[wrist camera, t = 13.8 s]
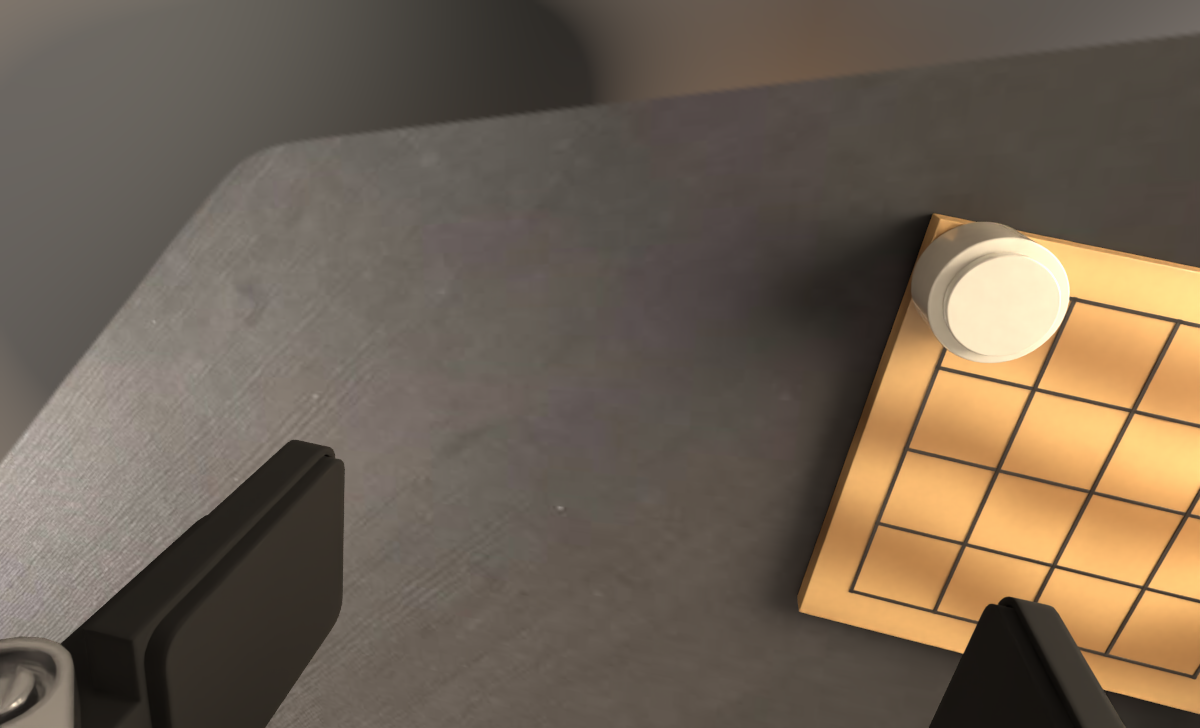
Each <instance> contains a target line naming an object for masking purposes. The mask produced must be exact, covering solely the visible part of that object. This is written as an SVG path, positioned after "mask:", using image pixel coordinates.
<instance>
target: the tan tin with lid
mask: <svg viewBox="0 0 1200 728" xmlns="http://www.w3.org/2000/svg"><path fill="white" fill-rule="evenodd" d="M911 293H912V299H913V302H914V305H915V307H916V309H917V311H918V313H919V314H920V316H921V317H922V319H923V320H924V322H925V323H926V324H927V326H928V327H929V328H930V330H931V331H932V333H933V334H934V335H935V337H936V338H937V339H938V341H939V342H940V343H941V344H942V345H943V346H944V347H945V348H946V349H947V350H949V351H950V352H952V353H953V354H955V355H957V356H959V357H961V358H963V359H966V360H970V361H973V362H979V363H1000V362H1006V361H1010V360H1014V359H1017V358H1020V357H1022V356H1024V355H1027V354H1028V353H1030V352H1032V351H1034V350H1035V349H1037V348H1038V347H1040V346H1041V345H1042V344H1044V343H1045V342H1046V341H1047V340H1048V339H1049V338H1050V337H1051V336H1052V335H1053V334H1054V333H1055V331H1056V330H1057V328H1058V327H1059V326H1060V324H1061V322H1062V320H1063V318H1064V316H1065V313H1066V311H1067V307H1068V303H1069V295H1070V289H1069V281H1068V277H1067V274H1066V272H1065V269H1064V267H1063V266H1062V264H1061V262H1060V261H1059V260H1058V259H1057V257H1056V256H1055V255H1054V254H1053V253H1052V252H1050V251H1049V250H1048V249H1047V248H1045V247H1043V246H1042V245H1040V244H1038V243H1037V242H1035V241H1033V240H1032V239H1030V238H1028V237H1027V236H1025V235H1023V234H1022V233H1020V232H1018V231H1016V230H1015V229H1013V228H1011V227H1009V226H1006V225H1003V224H999V223H994V222H974V223H968V224H964V225H961V226H958V227H955V228H953V229H951V230H949V231H947V232H945V233H944V234H942V235H941V236H939V237H938V238H937V239H935V240H934V241H933V242H932V243H931V244H930V245H929V246H928V247H927V248H926V249H925V251H924V252H923V253H922V255H921V256H920V258H919V260H918V261H917V264H916V266H915V268H914V272H913V275H912V282H911Z"/></svg>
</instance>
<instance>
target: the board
mask: <svg viewBox="0 0 1200 728" xmlns="http://www.w3.org/2000/svg"><path fill="white" fill-rule="evenodd" d="M968 223H974V221H969V220H964V219H959V218H954V217H950V216H945V215H940V214H935V213H933V214H932V217H931V220H930V223H929V226H928V228H927V231H926V234H925V237H924V240H923V242H922V245H921V248H920V251H919V254H918V257H917V259H916V262H915V265H914V268H915V266H916V264H917V261H918V260H919V258H920V256H921V255H922V253H923V252H924V251H925V249H926V248H927V247H928V246H929V245H930V244H931V243H932V242H933V241H934V240H935V239H937V238H938V237H939V236H941V235H942V234H944V233H945V232H947V231H949V230H951V229H953V228H955V227H958V226H961V225H964V224H968ZM1016 231H1017V230H1016ZM1018 232H1020V233H1022V234H1023V235H1025V236H1027V237H1028V238H1030V239H1032V240H1033V241H1035V242H1037V243H1038V244H1040V245H1042V246H1043V247H1045V248H1047V249H1048V250H1049V251H1050V252H1052V253H1053V254H1054V255H1055V256H1056V257H1057V259H1058V260H1059V261H1060V262H1061V264H1062V266H1063V267H1064V269H1065V272H1066V274H1067V277H1068V281H1069V289H1070V295H1069V303H1068V307H1067V311H1066V313H1065V316H1064V318H1063V320H1062V322H1061V324H1060V326H1059V327H1058V328H1057V330H1056V331H1055V333H1054V334H1053V335H1052V336H1051V337H1050V338H1049V339H1048V340H1047V341H1046V342H1045V343H1044V344H1042V345H1041V346H1040V347H1038V348H1037V349H1035V350H1034V351H1032V352H1030V353H1028V354H1027V355H1024V356H1022V357H1020V358H1017V359H1014V360H1010V361H1006V362H1000V363H979V362H973V361H970V360H966V359H963V358H961V357H959V356H957V355H955V354H953V353H952V352H950V351H949V350H947V349H946V348H945V347H944V346H943V345H942V344H941V343H940V342H939V341H938V339H937V338H936V337H935V335H934V334H933V333H932V331H931V330H930V328H929V327H928V326H927V324H926V323H925V322H924V320H923V319H922V317H921V316H920V314H919V313H918V311H917V309H916V307H915V305H914V302H913V299H912V293H911V282H912V275H913V272H914V268H913V271H912V274H911V276H910V279H909V282H908V285H907V288H906V290H905V293H904V296H903V299H902V302H901V305H900V307H899V310H898V313H897V316H896V319H895V322H894V324H893V327H892V330H891V333H890V336H889V339H888V341H887V344H886V347H885V350H884V353H883V355H882V358H881V361H880V364H879V367H878V370H877V372H876V375H875V378H874V381H873V384H872V387H871V389H870V392H869V395H868V398H867V401H866V403H865V406H864V409H863V412H862V415H861V418H860V420H859V423H858V426H857V429H856V432H855V435H854V437H853V440H852V443H851V446H850V449H849V451H848V454H847V457H846V460H845V463H844V466H843V468H842V471H841V474H840V477H839V480H838V483H837V485H836V488H835V491H834V494H833V497H832V500H831V502H830V505H829V508H828V511H827V514H826V516H825V519H824V522H823V525H822V528H821V531H820V533H819V536H818V539H817V542H816V545H815V548H814V550H813V553H812V556H811V559H810V562H809V564H808V567H807V570H806V573H805V576H804V579H803V581H802V584H801V587H800V590H799V593H798V596H797V599H798V608H799V612H802V613H806V614H810V615H814V616H818V617H822V618H826V619H830V620H833V621H837V622H841V623H845V624H849V625H853V626H857V627H861V628H865V629H869V630H873V631H877V632H880V633H884V634H888V635H892V636H896V637H900V638H904V639H908V640H912V641H916V642H920V643H923V644H927V645H931V646H935V647H939V648H943V649H947V650H951V651H955V652H959V653H964V651H965V649H966V647H967V645H968V643H969V640H970V638H971V636H972V634H973V632H974V630H975V628H976V625H977V623H978V621H979V619H980V617H981V615H982V612H983V611H984V609H985V607H986V606H987V605H989V604H997V605H998V603H999V601H1000V600H1001V599H1003V598H1004V597H1008V596H1010V597H1014V598H1019V599H1023V600H1028V601H1032V602H1037V603H1042V604H1046V605H1050V606H1052V607H1054V608H1055V610H1056V611H1057V612H1058V613H1059V615H1060V617H1061V618H1062V620H1063V622H1064V624H1065V625H1066V627H1067V629H1068V630H1069V632H1070V634H1071V636H1072V637H1073V639H1074V641H1075V642H1076V644H1077V646H1078V648H1079V649H1080V651H1081V653H1082V654H1083V656H1084V658H1085V659H1086V661H1087V663H1088V665H1089V666H1090V668H1091V670H1092V671H1093V673H1094V675H1095V677H1096V678H1097V680H1098V682H1099V683H1100V685H1101V687H1102V688H1103V690H1107V691H1111V692H1115V693H1119V694H1123V695H1127V696H1131V697H1135V698H1139V699H1143V700H1147V701H1150V702H1154V703H1158V704H1162V705H1166V706H1170V707H1174V708H1178V709H1182V710H1186V711H1190V712H1193V713H1197V714H1200V268H1197V267H1192V266H1187V265H1182V264H1177V263H1172V262H1167V261H1163V260H1158V259H1153V258H1148V257H1143V256H1138V255H1134V254H1129V253H1124V252H1119V251H1114V250H1109V249H1105V248H1100V247H1095V246H1090V245H1085V244H1080V243H1075V242H1071V241H1066V240H1061V239H1056V238H1051V237H1046V236H1042V235H1037V234H1032V233H1027V232H1022V231H1018Z"/></svg>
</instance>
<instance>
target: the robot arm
mask: <svg viewBox="0 0 1200 728" xmlns="http://www.w3.org/2000/svg"><path fill="white" fill-rule="evenodd" d="M344 474H345V469H344V463H343V461H342V460H340V459H335V454H334V451H333V449H332V448H330V447H327V446H322V445H318V444H313V443H308V442H304V441H299V440H291V441H290V442H288V443H287V444H286V445H285V446H283V447H282V448H281V449H280V450H279V451H278V452H277V453H276V454H275V455H274V456H272V457H271V458H270V459H269V460H268V461H267V462H266V463H265V464H264V465H262V466H261V467H260V468H259V469H258V470H257V471H256V472H255V473H254V474H253V475H251V476H250V477H249V478H248V479H247V480H246V481H245V482H244V483H243V484H241V485H240V486H239V487H238V488H237V489H236V490H235V491H234V492H233V493H232V494H230V495H229V496H228V497H227V498H226V499H225V500H224V501H223V502H222V503H221V504H219V505H218V506H217V507H216V508H215V509H214V510H213V511H212V512H211V513H209V514H208V515H206V516H204V517H203V518H201V519H200V520H198V521H197V522H196V523H195V524H193V525H192V526H191V527H190V528H189V529H188V530H187V531H186V532H185V533H183V534H182V535H181V536H180V537H179V538H178V539H177V540H176V541H175V542H173V543H172V544H171V545H170V546H169V547H168V548H167V549H166V550H165V551H163V552H162V553H161V554H160V555H159V556H158V557H157V558H156V559H155V560H153V561H152V562H151V563H150V564H149V565H148V566H147V567H146V568H145V569H143V570H142V571H141V572H140V573H139V574H138V575H137V576H136V577H135V578H133V579H132V580H131V581H130V582H129V583H128V584H127V585H126V586H125V587H123V588H122V589H121V590H120V591H119V592H118V593H117V594H116V595H115V596H113V597H112V598H111V599H110V600H109V601H108V602H107V603H106V604H105V605H103V606H102V607H101V608H100V609H99V610H98V611H97V612H96V613H95V614H93V615H92V616H91V617H90V618H89V619H88V620H87V621H86V622H85V623H83V624H82V625H81V626H80V627H79V628H78V629H77V630H76V631H75V632H73V633H72V634H71V635H70V636H69V637H68V638H67V639H66V640H65V641H63V642H62V643H61V644H60V643H57V642H54V641H51V640H48V639H45V638H39V637H15V638H8V639H1V640H0V728H265V727H266V725H267V724H268V722H269V721H270V719H271V718H272V717H273V715H274V714H275V712H276V711H277V709H278V708H279V706H280V705H281V703H282V702H283V700H284V699H285V697H286V696H287V694H288V693H289V691H290V690H291V688H292V687H293V685H294V684H295V683H296V681H297V680H298V678H299V677H300V675H301V674H302V672H303V671H304V669H305V668H306V666H307V665H308V663H309V662H310V660H311V659H312V657H313V656H314V654H315V653H316V651H317V650H318V648H319V647H320V646H321V644H322V643H323V641H324V640H325V638H326V637H327V635H328V634H329V632H330V631H331V629H332V628H333V626H334V624H335V623H336V621H337V618H338V616H339V613H340V610H341V606H342V592H343V533H344ZM929 728H1125V726H1124V724H1123V723H1122V721H1121V719H1120V718H1119V716H1118V714H1117V712H1116V711H1115V709H1114V707H1113V706H1112V704H1111V702H1110V700H1109V699H1108V697H1107V695H1106V694H1105V692H1104V690H1103V688H1102V687H1101V685H1100V683H1099V682H1098V680H1097V678H1096V677H1095V675H1094V673H1093V671H1092V670H1091V668H1090V666H1089V665H1088V663H1087V661H1086V659H1085V658H1084V656H1083V654H1082V653H1081V651H1080V649H1079V648H1078V646H1077V644H1076V642H1075V641H1074V639H1073V637H1072V636H1071V634H1070V632H1069V630H1068V629H1067V627H1066V625H1065V624H1064V622H1063V620H1062V618H1061V617H1060V615H1059V613H1058V612H1057V611H1056V610H1055V608H1054V607H1052V606H1050V605H1046V604H1042V603H1037V602H1032V601H1028V600H1023V599H1019V598H1014V597H1010V596H1008V597H1004V598H1003V599H1001V600H1000V601H999V603H998V605H997V604H989V605H987V606H986V607H985V609H984V611H983V612H982V615H981V617H980V619H979V621H978V623H977V625H976V628H975V630H974V632H973V634H972V636H971V638H970V640H969V643H968V645H967V647H966V649H965V651H964V653H963V655H962V658H961V660H960V662H959V664H958V666H957V668H956V671H955V673H954V675H953V677H952V679H951V681H950V683H949V686H948V688H947V690H946V692H945V694H944V696H943V699H942V701H941V703H940V705H939V707H938V709H937V711H936V714H935V716H934V718H933V720H932V722H931V724H930V726H929Z"/></svg>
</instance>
